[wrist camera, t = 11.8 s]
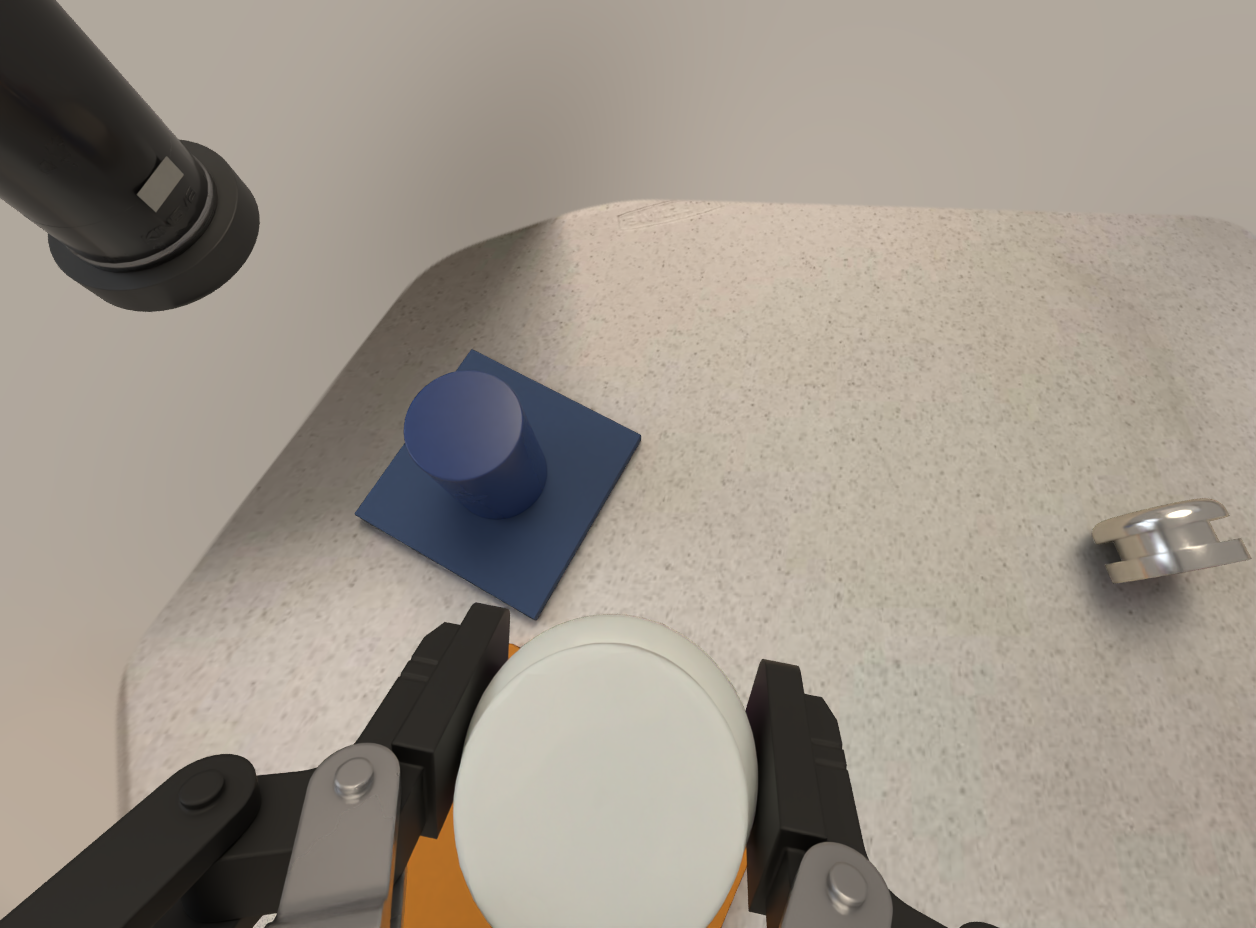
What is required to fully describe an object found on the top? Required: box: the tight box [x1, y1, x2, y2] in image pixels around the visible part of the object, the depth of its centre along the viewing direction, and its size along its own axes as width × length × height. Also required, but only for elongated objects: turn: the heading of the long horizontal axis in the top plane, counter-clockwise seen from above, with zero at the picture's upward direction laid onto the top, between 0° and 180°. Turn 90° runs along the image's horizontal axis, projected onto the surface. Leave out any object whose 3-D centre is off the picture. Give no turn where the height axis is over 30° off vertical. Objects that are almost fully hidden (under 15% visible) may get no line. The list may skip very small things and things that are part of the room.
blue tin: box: [404, 370, 547, 520], centre depth 28 cm, size 5×5×7 cm
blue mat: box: [355, 349, 641, 620], centre depth 31 cm, size 11×11×1 cm
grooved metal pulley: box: [1092, 498, 1252, 584], centre depth 28 cm, size 5×3×5 cm, turn 100°
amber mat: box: [403, 643, 747, 928], centre depth 26 cm, size 14×14×1 cm
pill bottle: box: [453, 614, 758, 928], centre depth 12 cm, size 5×5×10 cm
